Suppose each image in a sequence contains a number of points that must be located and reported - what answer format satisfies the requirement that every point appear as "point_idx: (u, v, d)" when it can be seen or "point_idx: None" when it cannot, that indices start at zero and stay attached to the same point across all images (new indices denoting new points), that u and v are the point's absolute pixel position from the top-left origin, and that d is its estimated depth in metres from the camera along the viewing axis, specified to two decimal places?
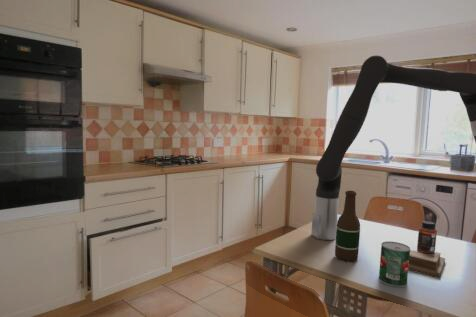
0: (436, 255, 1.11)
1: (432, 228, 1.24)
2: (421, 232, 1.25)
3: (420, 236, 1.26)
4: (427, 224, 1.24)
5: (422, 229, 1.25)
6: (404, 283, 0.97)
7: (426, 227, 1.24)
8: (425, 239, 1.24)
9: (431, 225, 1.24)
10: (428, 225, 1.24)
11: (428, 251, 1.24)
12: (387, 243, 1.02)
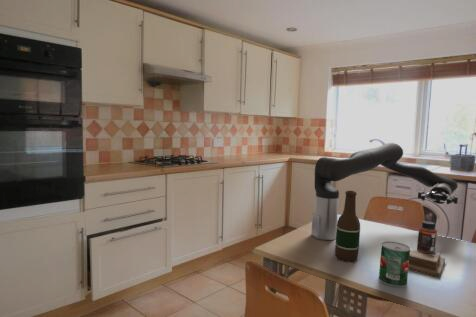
0: (436, 255, 1.11)
1: (432, 228, 1.24)
2: (421, 232, 1.25)
3: (420, 236, 1.26)
4: (427, 224, 1.24)
5: (422, 229, 1.25)
6: (404, 283, 0.97)
7: (426, 227, 1.24)
8: (425, 239, 1.24)
9: (431, 225, 1.24)
10: (428, 225, 1.24)
11: (428, 251, 1.24)
12: (387, 243, 1.02)
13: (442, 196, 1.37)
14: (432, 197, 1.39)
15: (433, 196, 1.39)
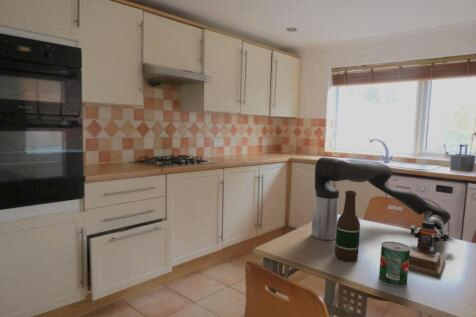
0: (436, 255, 1.11)
1: (432, 228, 1.24)
2: (421, 232, 1.25)
3: (420, 236, 1.26)
4: (427, 224, 1.24)
5: (422, 229, 1.25)
6: (404, 283, 0.97)
7: (426, 227, 1.24)
8: (425, 239, 1.24)
9: (431, 225, 1.24)
10: (428, 225, 1.24)
11: (428, 251, 1.24)
12: (387, 243, 1.02)
13: None
14: None
15: None
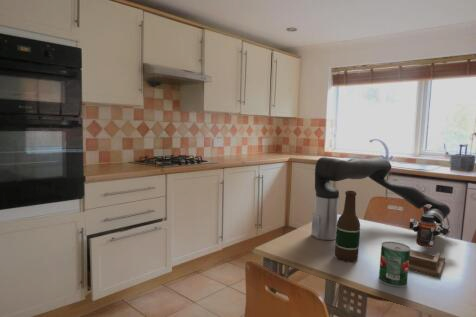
0: (436, 255, 1.11)
1: (431, 221, 1.21)
2: (420, 226, 1.22)
3: (419, 230, 1.23)
4: (426, 217, 1.21)
5: (421, 223, 1.22)
6: (404, 283, 0.97)
7: (425, 221, 1.22)
8: (425, 233, 1.21)
9: (430, 218, 1.21)
10: (428, 218, 1.21)
11: (427, 245, 1.21)
12: (387, 243, 1.02)
13: None
14: None
15: None
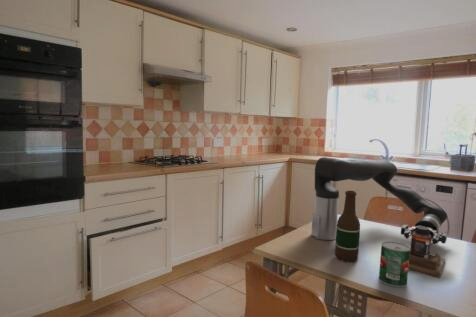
0: (436, 255, 1.11)
1: (426, 234, 1.11)
2: (414, 238, 1.12)
3: (413, 243, 1.13)
4: (421, 230, 1.11)
5: (415, 235, 1.12)
6: (404, 283, 0.97)
7: (419, 233, 1.12)
8: (419, 247, 1.11)
9: (425, 231, 1.11)
10: (422, 231, 1.11)
11: None
12: (387, 243, 1.02)
13: None
14: None
15: None
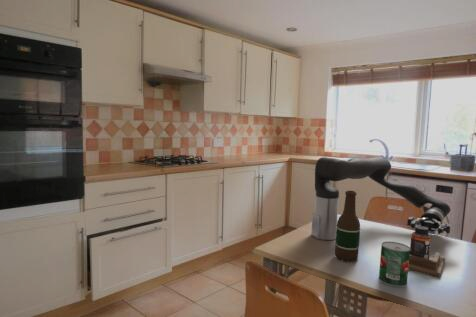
0: (436, 255, 1.11)
1: (426, 234, 1.11)
2: (414, 238, 1.13)
3: (412, 243, 1.13)
4: (420, 229, 1.12)
5: (415, 235, 1.12)
6: (404, 283, 0.97)
7: (419, 233, 1.12)
8: (418, 247, 1.11)
9: (425, 231, 1.11)
10: (422, 230, 1.11)
11: None
12: (387, 243, 1.02)
13: (433, 224, 1.26)
14: (423, 224, 1.28)
15: (424, 223, 1.28)
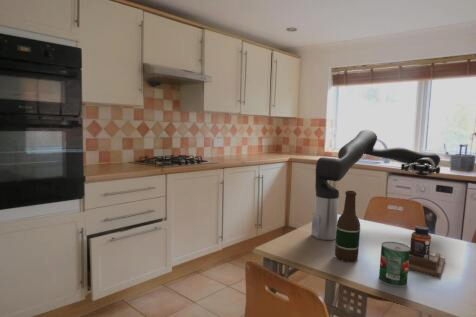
0: (436, 255, 1.11)
1: (426, 234, 1.11)
2: (414, 238, 1.13)
3: (412, 243, 1.13)
4: (420, 229, 1.12)
5: (415, 235, 1.12)
6: (404, 283, 0.97)
7: (419, 233, 1.12)
8: (418, 247, 1.11)
9: (425, 231, 1.11)
10: (422, 230, 1.11)
11: None
12: (387, 243, 1.02)
13: (425, 167, 1.39)
14: (415, 168, 1.41)
15: (416, 167, 1.40)
